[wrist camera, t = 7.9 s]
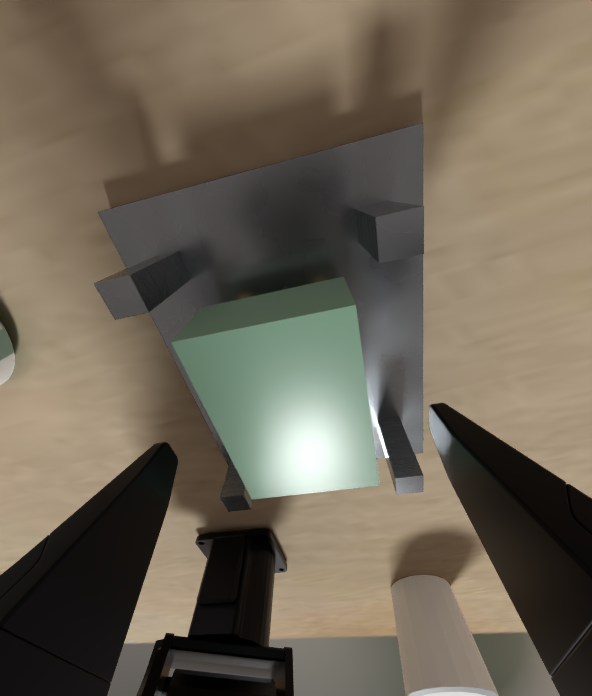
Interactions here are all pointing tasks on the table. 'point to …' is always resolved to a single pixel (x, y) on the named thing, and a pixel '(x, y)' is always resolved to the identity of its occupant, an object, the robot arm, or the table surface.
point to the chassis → (296, 267)
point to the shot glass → (436, 641)
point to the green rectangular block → (286, 388)
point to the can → (6, 355)
